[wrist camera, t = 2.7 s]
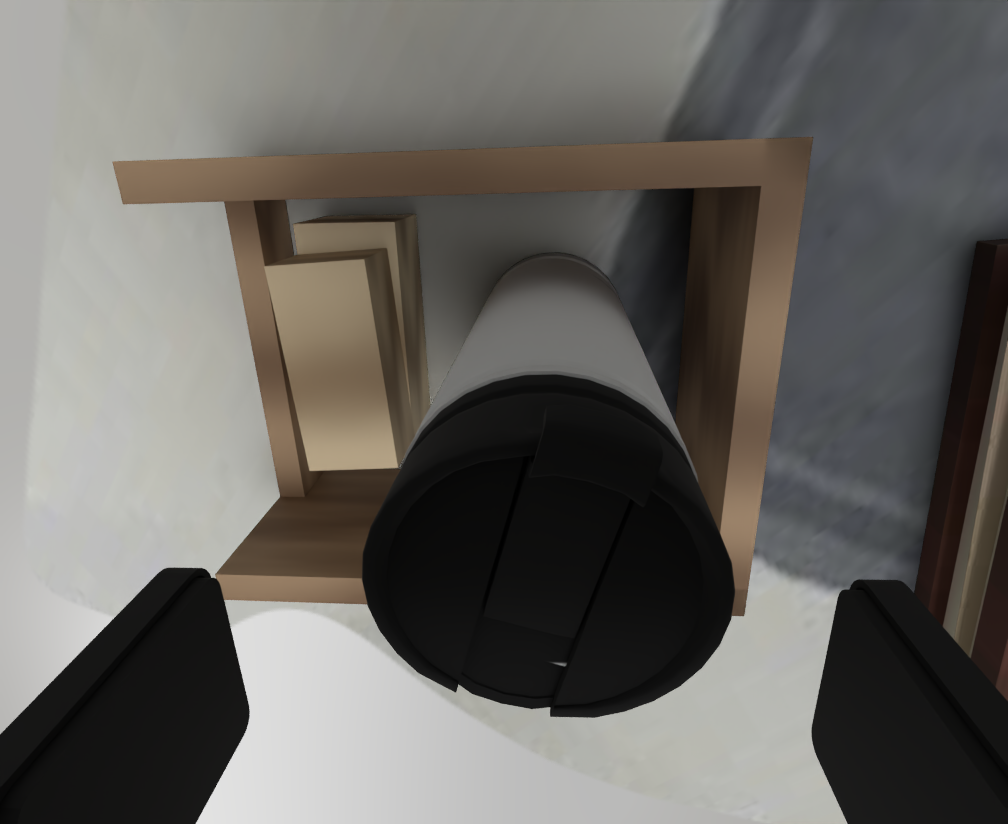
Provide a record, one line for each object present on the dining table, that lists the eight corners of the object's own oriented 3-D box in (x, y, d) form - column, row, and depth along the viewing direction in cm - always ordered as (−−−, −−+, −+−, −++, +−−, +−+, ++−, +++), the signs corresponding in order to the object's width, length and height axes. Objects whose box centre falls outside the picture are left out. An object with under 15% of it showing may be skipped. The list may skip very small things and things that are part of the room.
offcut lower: (329, 215, 27) (292, 223, 24) (417, 213, 27) (394, 222, 23) (354, 421, 31) (327, 456, 27) (432, 422, 31) (415, 458, 27)
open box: (252, 162, 27) (112, 161, 18) (727, 145, 25) (813, 137, 16) (307, 488, 32) (221, 599, 24) (694, 493, 31) (744, 616, 22)
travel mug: (643, 264, 27) (831, 489, 8) (598, 400, 29) (665, 804, 11) (504, 228, 27) (382, 372, 8) (471, 367, 29) (321, 718, 11)
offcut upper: (298, 254, 24) (263, 266, 21) (387, 247, 24) (364, 259, 21) (335, 439, 27) (309, 471, 24) (414, 436, 27) (398, 467, 24)
